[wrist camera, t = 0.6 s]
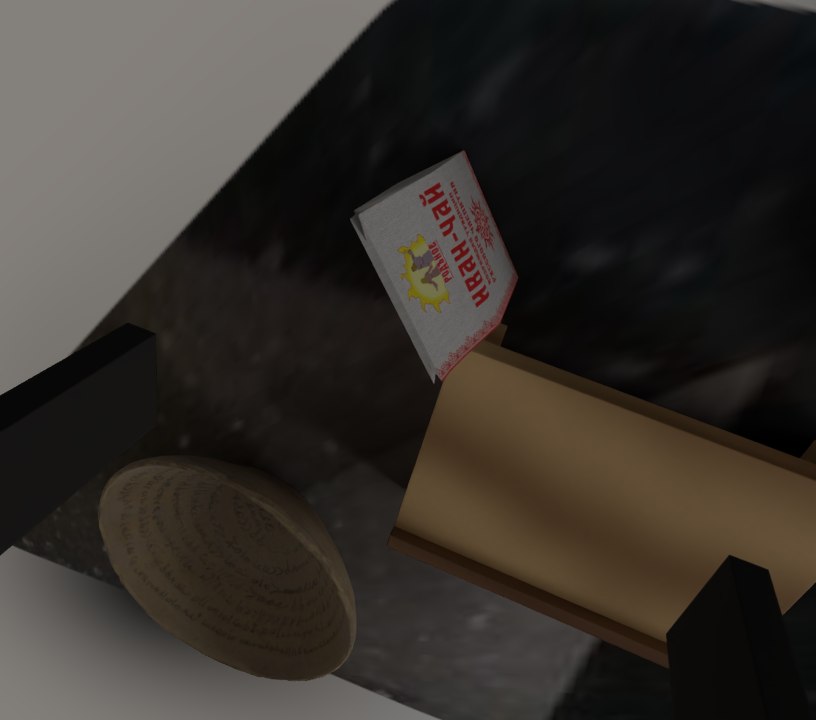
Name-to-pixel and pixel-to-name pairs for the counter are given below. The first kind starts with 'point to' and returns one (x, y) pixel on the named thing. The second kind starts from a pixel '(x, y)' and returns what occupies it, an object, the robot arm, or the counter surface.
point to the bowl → (230, 564)
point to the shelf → (597, 500)
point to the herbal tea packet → (439, 260)
